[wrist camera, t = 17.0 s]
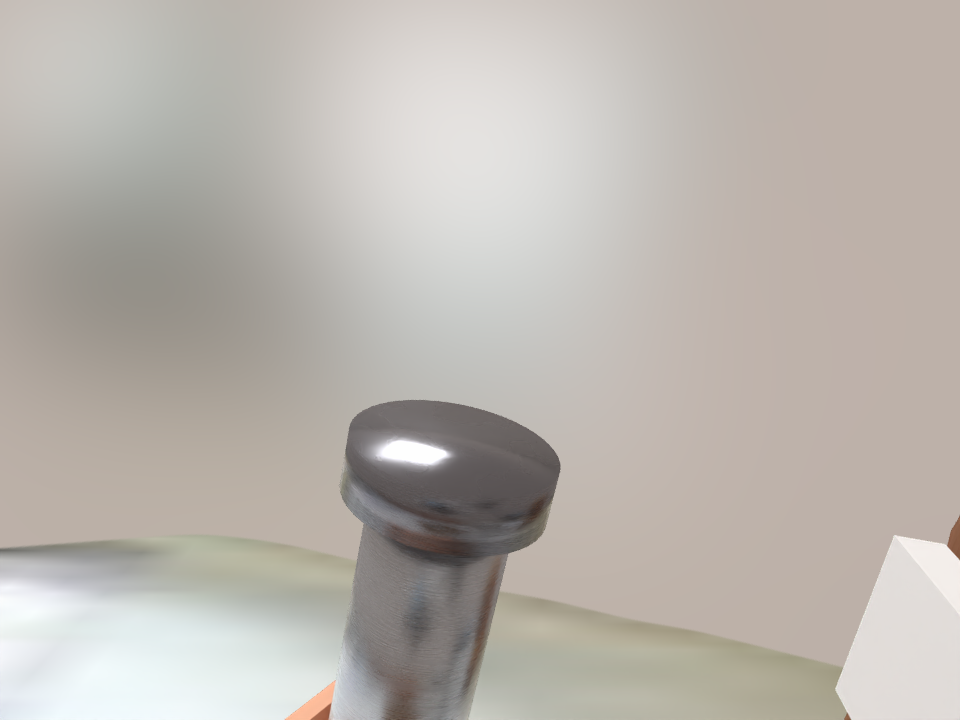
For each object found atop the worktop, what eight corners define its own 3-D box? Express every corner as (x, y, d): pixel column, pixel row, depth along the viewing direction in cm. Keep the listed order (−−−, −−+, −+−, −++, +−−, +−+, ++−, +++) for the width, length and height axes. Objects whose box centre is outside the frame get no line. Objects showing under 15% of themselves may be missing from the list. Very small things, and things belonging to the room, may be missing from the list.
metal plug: (488, 847, 36) (593, 454, 31) (389, 980, 30) (495, 524, 25) (354, 758, 39) (426, 385, 34) (239, 864, 33) (303, 433, 28)
